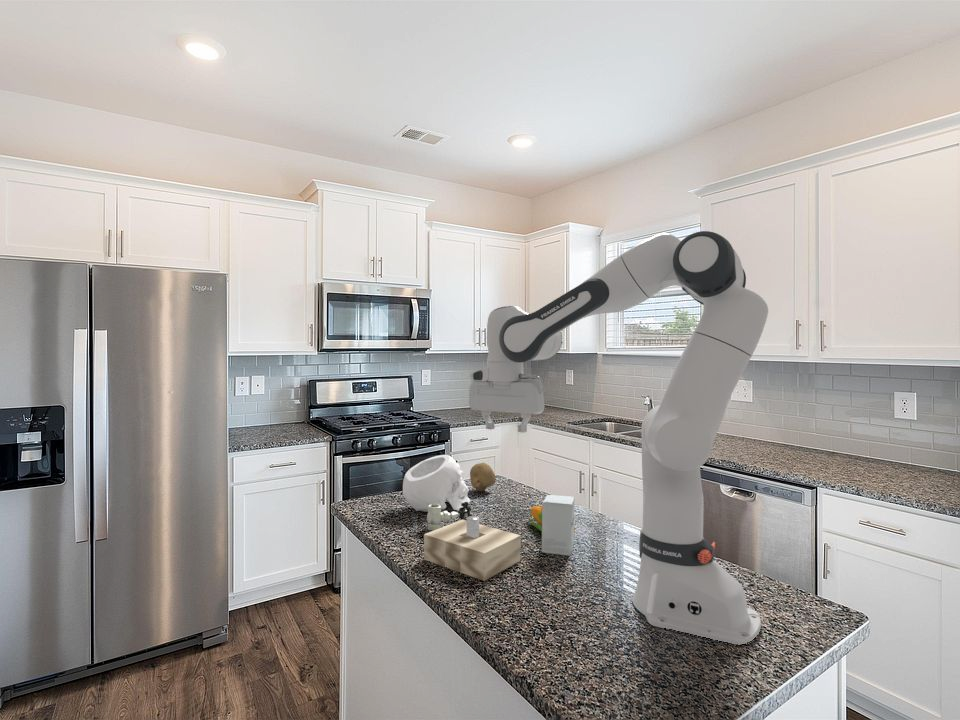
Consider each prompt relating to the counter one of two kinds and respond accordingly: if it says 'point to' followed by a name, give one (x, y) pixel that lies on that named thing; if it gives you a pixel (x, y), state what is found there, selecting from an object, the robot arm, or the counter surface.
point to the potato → (482, 476)
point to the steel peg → (472, 527)
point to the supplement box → (558, 524)
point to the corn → (538, 517)
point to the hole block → (472, 549)
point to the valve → (445, 515)
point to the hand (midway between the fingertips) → (505, 430)
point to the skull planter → (435, 484)
